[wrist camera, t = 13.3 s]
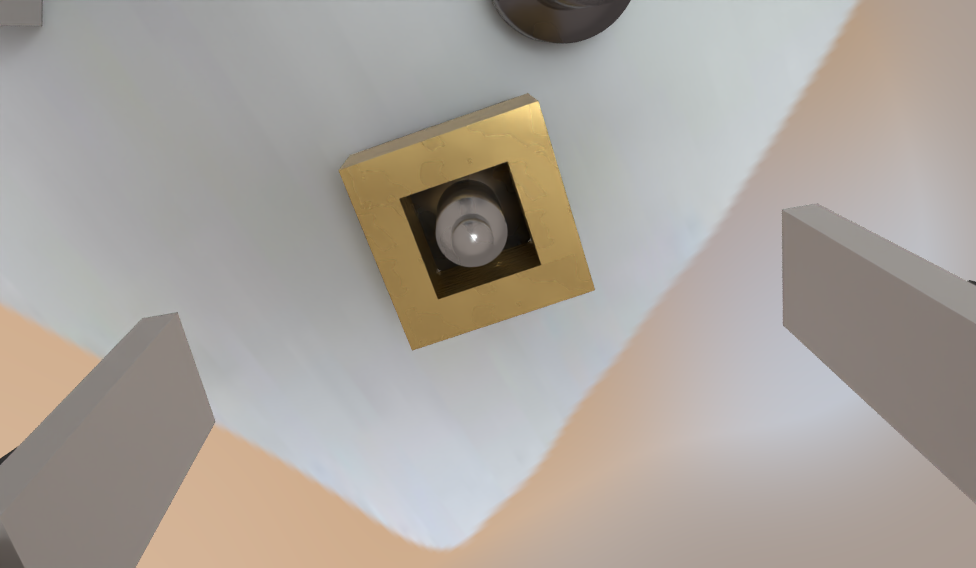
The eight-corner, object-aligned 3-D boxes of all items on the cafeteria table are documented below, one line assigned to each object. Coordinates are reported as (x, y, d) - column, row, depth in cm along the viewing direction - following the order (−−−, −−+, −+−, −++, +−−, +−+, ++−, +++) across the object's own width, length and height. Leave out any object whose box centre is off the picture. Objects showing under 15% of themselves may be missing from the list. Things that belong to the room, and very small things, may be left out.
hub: (393, 249, 39) (381, 302, 31) (414, 123, 37) (406, 148, 29) (516, 271, 40) (532, 327, 32) (543, 149, 37) (568, 179, 30)
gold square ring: (415, 318, 37) (412, 350, 34) (350, 155, 34) (338, 170, 31) (579, 263, 37) (595, 290, 33) (527, 93, 34) (538, 100, 30)
